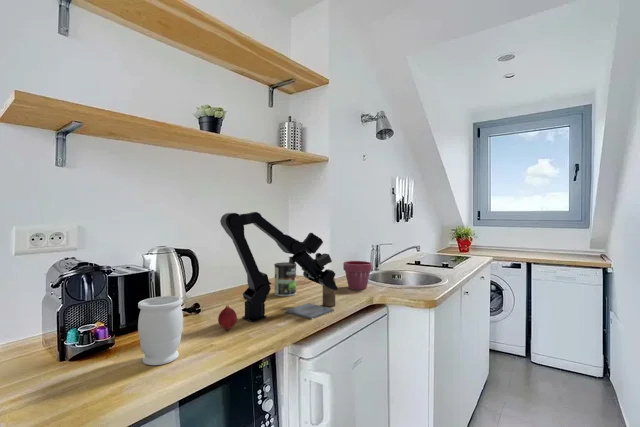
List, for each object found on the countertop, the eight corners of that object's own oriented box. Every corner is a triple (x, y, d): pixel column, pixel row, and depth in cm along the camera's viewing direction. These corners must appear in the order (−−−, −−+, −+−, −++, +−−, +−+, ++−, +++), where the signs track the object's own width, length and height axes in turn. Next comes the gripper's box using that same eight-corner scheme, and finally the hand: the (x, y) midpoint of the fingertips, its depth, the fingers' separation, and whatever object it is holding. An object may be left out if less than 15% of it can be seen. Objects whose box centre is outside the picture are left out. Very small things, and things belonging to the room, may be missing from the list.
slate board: (311, 319, 114) (311, 317, 114) (285, 312, 122) (285, 310, 123) (333, 311, 124) (333, 309, 124) (309, 305, 132) (309, 303, 132)
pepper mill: (329, 307, 128) (329, 275, 128) (320, 305, 132) (319, 273, 132) (337, 305, 132) (337, 273, 132) (328, 302, 136) (328, 271, 136)
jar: (132, 358, 83) (132, 300, 83) (174, 347, 91) (173, 293, 91) (145, 372, 76) (145, 308, 76) (189, 358, 83) (189, 300, 83)
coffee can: (301, 293, 153) (300, 263, 153) (285, 297, 144) (285, 266, 145) (285, 290, 159) (284, 261, 159) (269, 294, 151) (269, 264, 151)
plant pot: (368, 284, 171) (368, 260, 171) (374, 290, 157) (374, 264, 157) (341, 285, 170) (341, 260, 170) (345, 291, 156) (345, 264, 156)
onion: (240, 328, 105) (240, 304, 105) (227, 334, 100) (227, 308, 100) (227, 325, 108) (227, 301, 108) (214, 331, 103) (214, 306, 103)
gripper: (330, 249, 122) (355, 276, 127) (309, 245, 138) (332, 269, 143) (312, 272, 118) (338, 298, 123) (292, 265, 135) (316, 288, 140)
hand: (331, 287), depth 132 cm, fingers open, 9 cm apart
